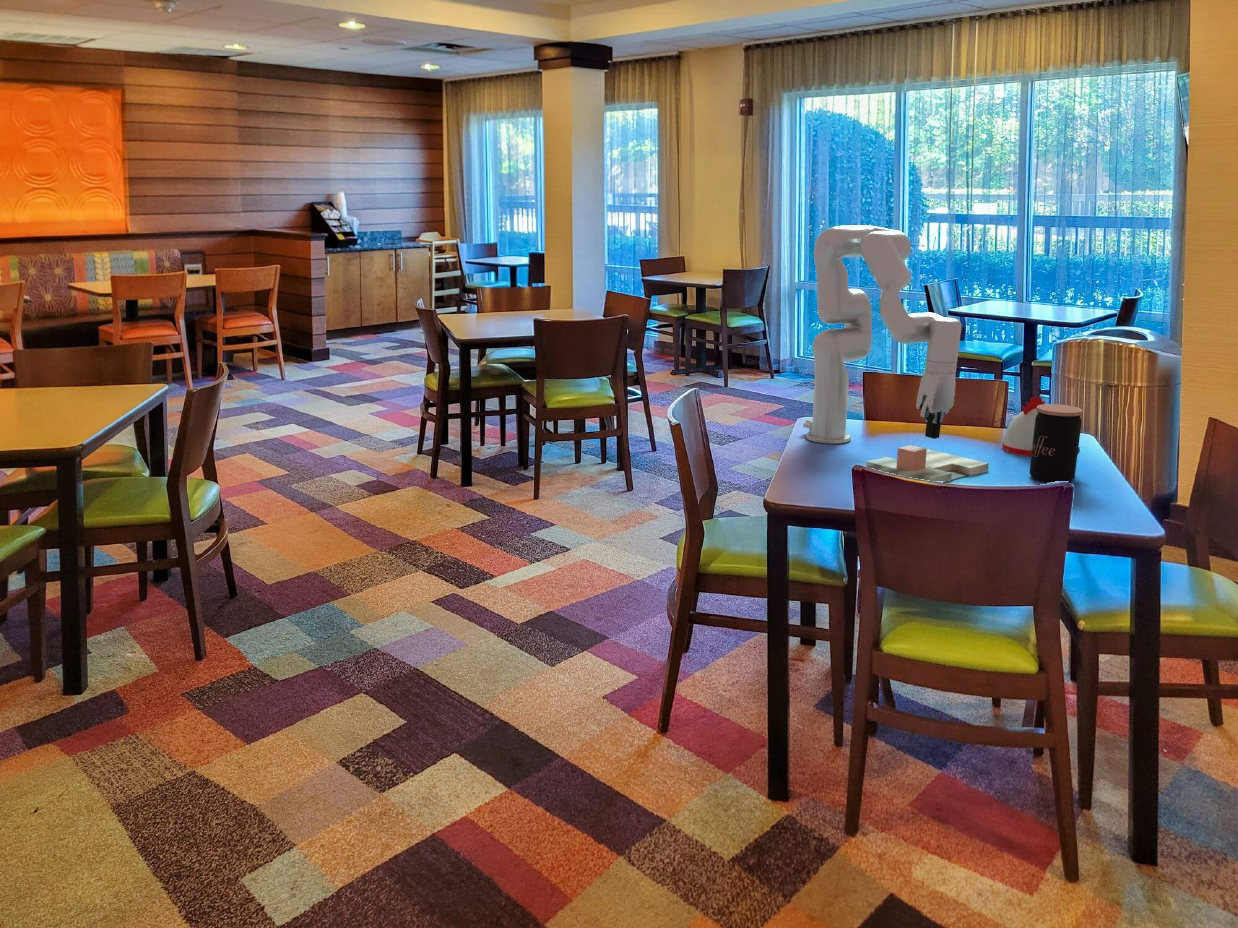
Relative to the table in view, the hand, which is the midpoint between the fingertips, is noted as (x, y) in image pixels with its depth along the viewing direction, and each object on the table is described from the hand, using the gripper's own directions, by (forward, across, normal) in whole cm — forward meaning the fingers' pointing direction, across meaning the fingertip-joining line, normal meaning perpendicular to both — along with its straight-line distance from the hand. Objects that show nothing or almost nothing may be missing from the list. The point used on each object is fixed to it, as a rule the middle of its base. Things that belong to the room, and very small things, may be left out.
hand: (931, 437), depth 271 cm
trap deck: (+8, +3, +2) cm, 9 cm away
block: (+6, +11, +2) cm, 12 cm away
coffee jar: (+7, -16, +25) cm, 31 cm away
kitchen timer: (+8, -38, +5) cm, 40 cm away
